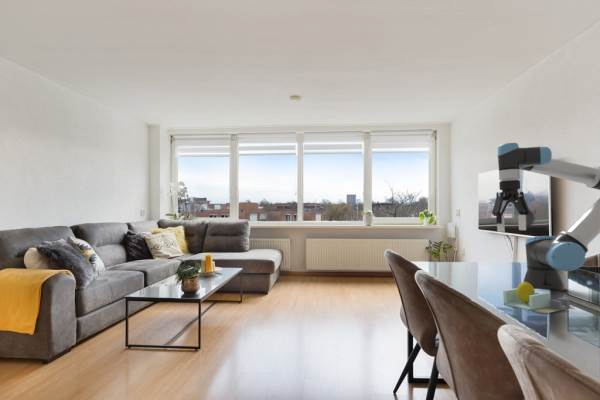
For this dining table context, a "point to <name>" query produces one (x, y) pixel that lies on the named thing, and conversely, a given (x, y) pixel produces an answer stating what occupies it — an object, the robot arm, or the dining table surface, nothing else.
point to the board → (547, 310)
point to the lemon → (525, 291)
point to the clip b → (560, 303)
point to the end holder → (534, 300)
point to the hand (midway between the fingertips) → (512, 231)
